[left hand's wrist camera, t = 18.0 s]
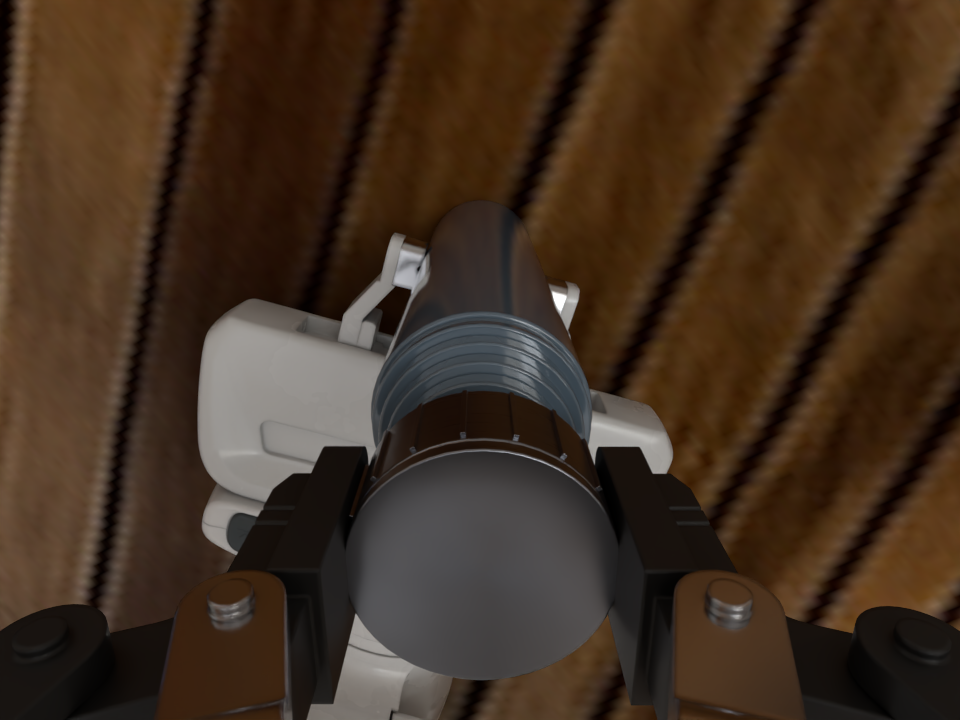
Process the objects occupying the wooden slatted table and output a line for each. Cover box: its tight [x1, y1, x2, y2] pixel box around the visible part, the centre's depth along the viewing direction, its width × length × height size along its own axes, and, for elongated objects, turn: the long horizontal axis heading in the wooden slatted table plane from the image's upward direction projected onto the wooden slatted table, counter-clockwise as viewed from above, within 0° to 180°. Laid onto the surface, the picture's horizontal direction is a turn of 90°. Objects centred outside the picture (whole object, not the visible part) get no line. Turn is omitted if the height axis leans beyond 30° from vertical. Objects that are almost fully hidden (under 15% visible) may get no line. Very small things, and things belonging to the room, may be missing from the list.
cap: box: [345, 390, 619, 680], centre depth 11 cm, size 4×4×2 cm
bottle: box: [371, 200, 592, 448], centre depth 22 cm, size 5×5×24 cm
